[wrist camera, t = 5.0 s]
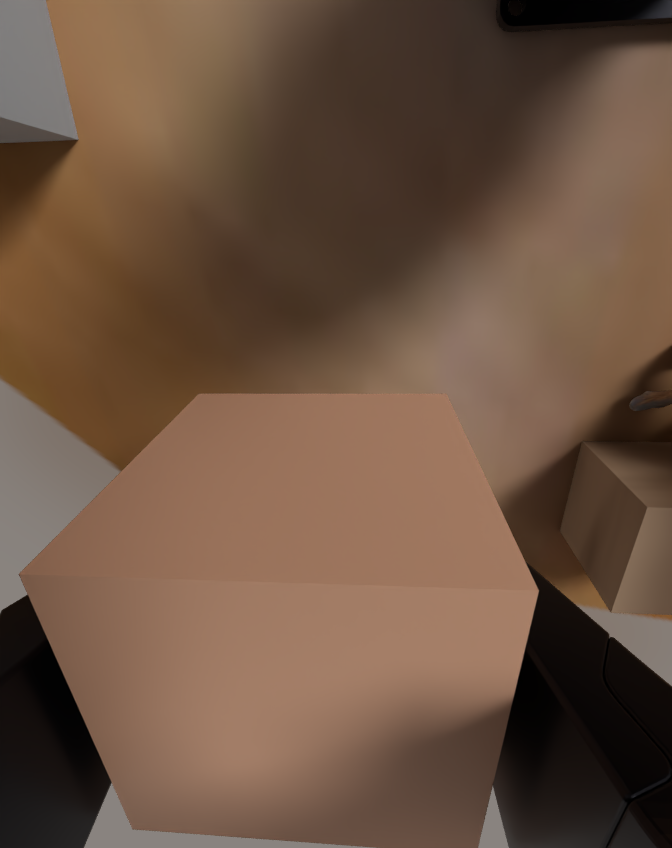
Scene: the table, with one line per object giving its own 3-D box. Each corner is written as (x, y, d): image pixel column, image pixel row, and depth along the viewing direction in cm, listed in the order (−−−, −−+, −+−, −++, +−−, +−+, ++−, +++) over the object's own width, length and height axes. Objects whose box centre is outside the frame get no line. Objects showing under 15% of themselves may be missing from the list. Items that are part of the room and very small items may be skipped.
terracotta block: (446, 394, 8) (539, 590, 4) (429, 583, 10) (475, 854, 6) (198, 393, 9) (18, 573, 4) (230, 577, 11) (132, 829, 6)
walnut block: (699, 441, 19) (805, 510, 14) (664, 532, 21) (747, 617, 16) (581, 440, 19) (647, 507, 15) (559, 529, 21) (610, 612, 17)
